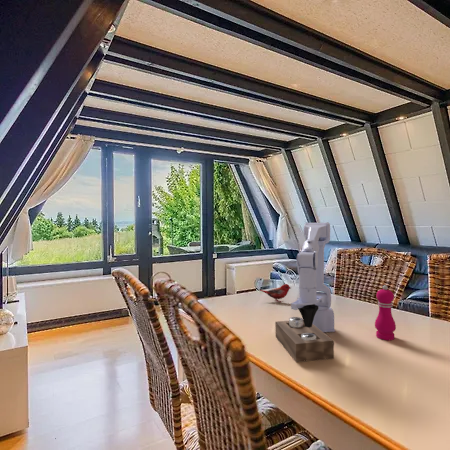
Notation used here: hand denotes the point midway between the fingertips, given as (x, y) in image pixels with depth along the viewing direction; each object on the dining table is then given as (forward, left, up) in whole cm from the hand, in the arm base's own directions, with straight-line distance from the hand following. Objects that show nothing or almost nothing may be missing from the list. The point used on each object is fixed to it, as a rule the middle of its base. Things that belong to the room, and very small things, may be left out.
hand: (308, 326), depth 112 cm
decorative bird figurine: (-8, -65, -10) cm, 66 cm away
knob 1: (0, -12, -7) cm, 14 cm away
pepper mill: (-34, -8, -10) cm, 36 cm away
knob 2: (0, 0, -9) cm, 9 cm away
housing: (0, -6, -9) cm, 11 cm away
